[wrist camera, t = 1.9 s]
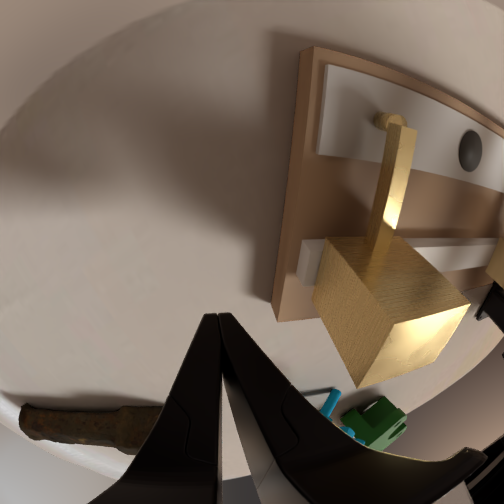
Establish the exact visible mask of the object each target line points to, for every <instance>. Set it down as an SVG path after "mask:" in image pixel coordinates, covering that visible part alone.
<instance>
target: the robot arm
mask: <svg viewBox="0 0 504 504" xmlns="http://www.w3.org/2000/svg"><path fill="white" fill-rule="evenodd" d="M486 317H490V318H491V320H492V321H493V322H494V323H495V324H496V325H497V326H498V328H499V329H500V330H501V331H502V332H503V333H504V289H503V288H502V287H501V286H500V285H499V284H498V283H497V282H495V284H494V286H493V288H492V290H491V292H490V294H489V296H488V298H487V300H486V301H485V303H484V305H483V307H482V309H481V310H480V312H479V314H478V315H477V317H476V319H477V320H478V321H480V320H482V319H484V318H486ZM502 356H503V358H504V352H503V354H502ZM222 376H223V381H224V385H225V389H226V392H227V396H228V400H229V403H230V407H231V410H232V414H233V417H234V421H235V424H236V428H237V431H238V434H239V437H240V441H241V444H242V447H243V450H244V454H245V457H246V460H247V463H248V466H249V469H250V472H251V475H252V478H253V481H254V484H255V487H256V489H257V492H258V495H259V498H260V501H261V503H262V504H504V434H503V435H502V436H500V437H499V438H498V439H497V440H495V441H494V442H493V443H491V444H490V445H489V446H488V447H486V448H484V449H483V450H482V451H479V450H476V449H472V448H469V447H464V448H462V449H461V450H459V451H458V452H456V453H455V454H453V455H452V456H450V457H449V458H447V459H446V460H443V461H425V460H419V459H414V458H409V457H404V456H399V455H394V454H390V453H386V452H382V451H378V450H374V449H371V448H369V447H366V446H364V445H362V444H361V443H359V442H357V441H356V440H355V439H353V438H352V437H351V436H349V435H348V434H347V433H345V432H344V431H343V430H342V429H340V428H339V427H338V426H336V425H335V424H334V423H333V422H331V421H330V420H329V419H328V418H326V417H325V416H324V415H323V414H322V413H320V412H319V411H318V410H317V409H316V408H315V407H314V406H312V405H311V404H310V403H309V402H308V401H307V400H306V399H305V398H304V397H303V396H302V395H301V394H300V392H299V391H298V390H297V389H296V388H295V387H294V386H293V385H291V383H290V382H289V380H288V379H287V378H286V377H285V376H284V375H283V374H282V373H281V371H280V370H279V369H278V368H277V367H276V366H275V365H274V363H273V362H272V361H271V360H270V359H269V358H268V357H267V355H266V354H265V353H264V352H263V351H262V350H261V348H260V347H259V346H258V345H257V344H256V343H255V341H254V340H253V339H252V338H251V337H250V335H249V334H248V333H247V332H246V331H245V329H244V328H243V327H242V326H241V325H240V323H239V322H238V321H237V320H236V318H235V317H234V316H233V315H232V314H231V313H229V312H228V313H219V314H218V316H217V314H216V313H209V314H204V315H203V317H202V320H201V322H200V324H199V326H198V329H197V331H196V333H195V335H194V338H193V340H192V342H191V344H190V347H189V349H188V351H187V354H186V356H185V358H184V360H183V363H182V365H181V367H180V370H179V372H178V374H177V376H176V379H175V381H174V383H173V386H172V388H171V390H170V393H169V396H168V397H167V399H166V402H165V404H164V406H163V408H162V411H161V413H160V415H159V417H158V419H157V421H156V423H155V425H154V426H153V428H152V430H151V432H150V433H149V435H148V437H147V438H146V440H145V442H144V443H143V445H142V446H141V448H140V450H139V451H138V453H137V455H136V456H135V458H134V459H133V461H132V463H131V464H130V466H129V467H128V469H127V470H126V472H125V473H124V474H123V475H122V477H121V478H120V479H119V480H118V481H117V482H116V483H114V484H113V485H112V486H111V487H109V488H108V489H107V490H105V491H104V492H103V493H101V494H100V495H99V496H97V497H96V498H95V499H93V500H92V501H90V502H89V503H88V504H223V497H222Z"/></svg>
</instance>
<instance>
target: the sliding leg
mask: <svg viewBox="0 0 504 504" xmlns="http://www.w3.org/2000/svg"><path fill="white" fill-rule="evenodd" d="M373 122H374V125H375V127H376V128H377V129H378V130H381V131H384V132H387V135H386V141H385V147H384V153H383V159H382V164H381V169H380V174H379V179H378V184H377V188H376V193H375V197H374V202H373V206H372V210H371V214H370V218H369V222H368V226H367V230H366V234H365V237H326V238H325V242H324V247H323V251H322V256H321V260H320V265H319V269H318V273H317V277H316V282H315V286H314V290H313V294H312V298H311V300H312V302H313V304H314V306H315V308H316V310H317V312H318V314H319V315H320V317H321V319H322V321H323V323H324V325H325V327H326V329H327V331H328V333H329V335H330V337H331V339H332V340H333V342H334V344H335V346H336V348H337V350H338V352H339V354H340V356H341V358H342V360H343V362H344V364H345V366H346V368H347V370H348V372H349V374H350V376H351V378H352V380H353V382H354V384H355V386H356V388H357V389H359V388H362V387H365V386H369V385H372V384H375V383H378V382H382V381H385V380H388V379H391V378H393V377H396V376H399V375H402V374H405V373H407V372H410V371H413V370H415V369H418V368H420V367H423V366H425V365H428V364H430V363H433V362H434V361H435V359H436V358H437V356H438V355H439V354H440V352H441V351H442V349H443V348H444V346H445V345H446V343H447V342H448V340H449V339H450V337H451V336H452V334H453V333H454V331H455V330H456V328H457V326H458V325H459V323H460V321H461V320H462V318H463V316H464V315H465V313H466V311H467V309H468V308H469V306H470V304H471V303H470V302H469V301H468V300H467V299H466V298H465V297H464V296H463V295H462V294H461V293H460V292H459V291H458V290H457V289H456V288H455V287H454V286H453V285H452V284H451V283H450V282H449V281H448V280H447V279H446V278H445V277H444V276H443V275H442V274H441V273H440V272H439V271H438V270H437V269H436V268H435V267H434V266H433V265H432V264H431V263H429V262H428V261H427V260H426V259H425V258H424V257H423V256H422V255H421V254H420V253H418V252H417V251H416V250H415V249H414V248H413V247H412V246H410V245H409V244H408V243H407V242H406V241H405V240H404V239H402V238H401V237H400V236H393V235H394V231H395V228H396V224H397V221H398V217H399V214H400V210H401V206H402V203H403V199H404V195H405V191H406V186H407V182H408V178H409V173H410V169H411V164H412V159H413V154H414V149H415V143H416V137H417V130H414V129H411V128H408V127H407V121H406V119H405V118H404V117H403V116H402V115H397V114H392V113H387V112H381V111H380V112H377V113H376V114H375V116H374V119H373Z"/></svg>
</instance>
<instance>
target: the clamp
mask: <svg viewBox="0 0 504 504" xmlns="http://www.w3.org/2000/svg"><path fill="white" fill-rule="evenodd" d="M406 419H407V415H406V414H405V413H404V412H403V411H402V410H401V409H400V408H398V409H397V408H396V407H395V406H394V405H393V404H392V403H391V402H390V401H389V400H388V399H387V398H386V397H385V396H384V397H382V398H381V399H380V400H379V401H378V402H376V403H375V404H374V405H373V406H372V407H371V408H370V409H368V410H367V411H366V412H365V413H364V414H362V415H360V414H359V413H358V412H357V411H356V410H355V409H354V408H353V409H352V410H351V411H349V412H348V413H347V414H346V415H344V416H343V417H342V418H340V420H341V421H342V422H343V424H344V425H345V426H346V427H349V428H351V429H352V430H353V431H354V432H355V435H354V437H355V438H356V439H361V440H364V441H365V444H364V446H366V447H369V448H371V449H374V450H378V451H382V450H383V449H385V448H386V447H387V446H388V445H390V444H391V443H392V442H393V441H394V440H395V439H397V438H398V437H399V436H400V435H401V434H402V433H403V432H404V431H405V430H406V428H407V426H406V425H405V424H404V423H403V422H404V421H405V420H406Z"/></svg>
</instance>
